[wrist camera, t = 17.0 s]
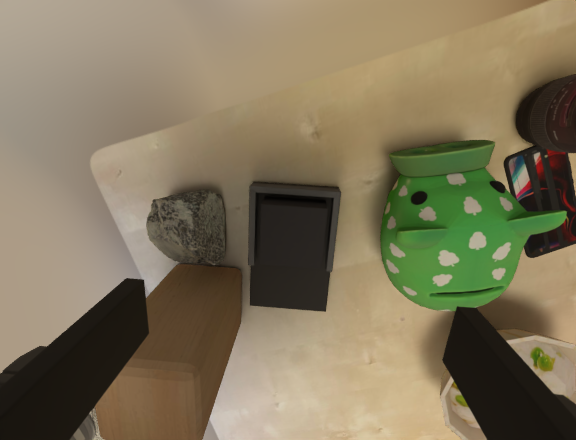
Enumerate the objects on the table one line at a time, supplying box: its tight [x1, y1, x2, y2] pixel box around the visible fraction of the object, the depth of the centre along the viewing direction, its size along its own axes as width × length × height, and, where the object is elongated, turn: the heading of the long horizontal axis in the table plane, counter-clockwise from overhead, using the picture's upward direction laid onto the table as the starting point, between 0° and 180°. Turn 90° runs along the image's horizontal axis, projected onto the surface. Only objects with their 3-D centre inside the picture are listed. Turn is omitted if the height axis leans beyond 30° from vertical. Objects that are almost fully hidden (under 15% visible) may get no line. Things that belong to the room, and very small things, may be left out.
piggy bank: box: [380, 140, 567, 311], centre depth 33 cm, size 14×18×15 cm
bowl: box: [440, 329, 576, 440], centre depth 42 cm, size 19×19×10 cm
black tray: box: [248, 182, 341, 312], centre depth 42 cm, size 19×11×3 cm, turn 177°
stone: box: [146, 190, 225, 265], centre depth 39 cm, size 10×10×10 cm
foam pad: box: [259, 196, 328, 269], centre depth 39 cm, size 8×8×4 cm
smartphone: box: [504, 145, 576, 258], centre depth 39 cm, size 7×1×15 cm
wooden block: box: [95, 264, 242, 440], centre depth 37 cm, size 10×10×20 cm
